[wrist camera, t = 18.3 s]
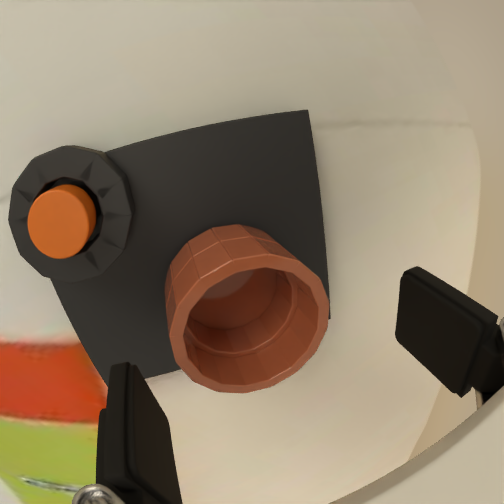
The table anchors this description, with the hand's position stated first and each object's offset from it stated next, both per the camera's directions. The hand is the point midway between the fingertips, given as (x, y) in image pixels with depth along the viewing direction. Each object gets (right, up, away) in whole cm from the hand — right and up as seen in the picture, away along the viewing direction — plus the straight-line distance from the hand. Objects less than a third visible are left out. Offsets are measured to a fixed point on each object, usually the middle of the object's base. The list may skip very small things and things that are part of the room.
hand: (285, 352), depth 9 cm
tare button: (-9, +5, +1) cm, 10 cm away
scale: (-4, +3, +6) cm, 8 cm away
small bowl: (-2, +2, +6) cm, 6 cm away
